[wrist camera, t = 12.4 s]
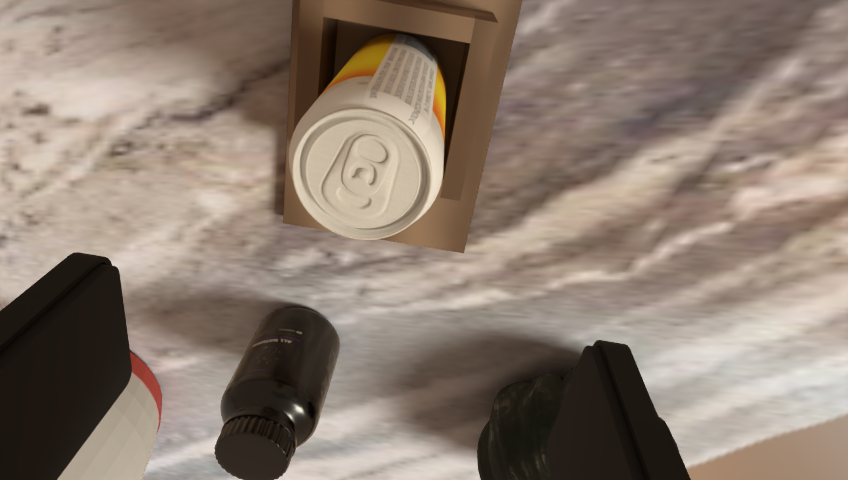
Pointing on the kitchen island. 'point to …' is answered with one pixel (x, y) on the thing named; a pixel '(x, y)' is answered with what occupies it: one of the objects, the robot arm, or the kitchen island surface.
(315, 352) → the supplement bottle
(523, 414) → the squash
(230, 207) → the kitchen island surface
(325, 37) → the can caddy
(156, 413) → the citrus juicer
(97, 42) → the kitchen island surface
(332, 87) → the beer can
